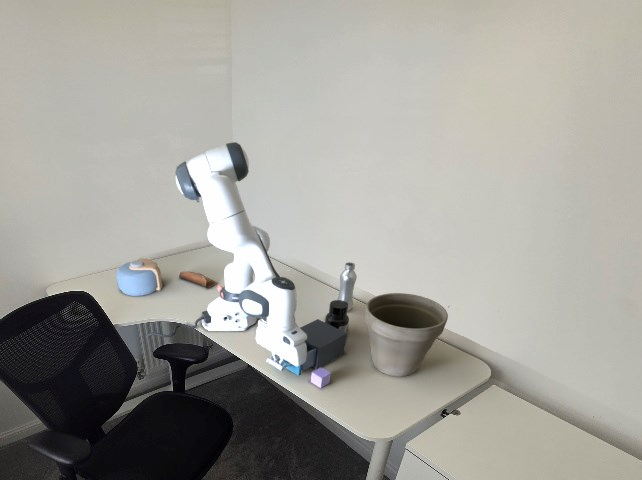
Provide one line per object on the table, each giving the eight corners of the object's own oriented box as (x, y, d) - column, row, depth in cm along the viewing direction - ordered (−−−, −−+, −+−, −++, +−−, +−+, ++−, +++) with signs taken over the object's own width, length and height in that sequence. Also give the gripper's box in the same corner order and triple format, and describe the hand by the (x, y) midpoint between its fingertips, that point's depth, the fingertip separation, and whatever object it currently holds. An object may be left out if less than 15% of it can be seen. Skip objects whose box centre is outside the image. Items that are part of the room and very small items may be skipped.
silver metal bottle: (352, 313, 182) (359, 267, 170) (335, 312, 183) (341, 266, 171) (352, 306, 187) (359, 261, 175) (336, 305, 188) (341, 260, 176)
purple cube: (320, 388, 141) (321, 378, 139) (310, 382, 144) (311, 372, 142) (329, 382, 144) (331, 373, 141) (319, 376, 146) (320, 367, 144)
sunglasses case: (218, 282, 206) (213, 273, 201) (210, 293, 204) (204, 284, 199) (190, 272, 215) (185, 263, 210) (182, 283, 213) (176, 275, 208)
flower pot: (343, 366, 151) (351, 310, 138) (377, 338, 166) (388, 285, 153) (411, 396, 138) (428, 337, 125) (442, 362, 152) (460, 307, 139)
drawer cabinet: (316, 369, 150) (319, 348, 145) (288, 352, 158) (289, 332, 153) (344, 353, 157) (347, 333, 152) (315, 338, 166) (317, 318, 161)
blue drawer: (286, 382, 142) (287, 366, 138) (260, 366, 150) (261, 349, 146) (325, 360, 152) (327, 344, 148) (299, 346, 160) (301, 330, 156)
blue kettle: (169, 289, 202) (166, 264, 194) (128, 300, 193) (123, 275, 185) (151, 275, 214) (148, 251, 207) (112, 285, 205) (107, 260, 198)
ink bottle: (344, 340, 165) (348, 311, 158) (321, 336, 167) (324, 308, 160) (348, 327, 172) (353, 300, 165) (326, 324, 175) (329, 296, 168)
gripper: (251, 319, 142) (251, 354, 150) (297, 344, 130) (294, 381, 138) (265, 313, 145) (264, 348, 154) (311, 337, 133) (307, 374, 141)
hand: (279, 364), depth 146 cm, fingers closed
